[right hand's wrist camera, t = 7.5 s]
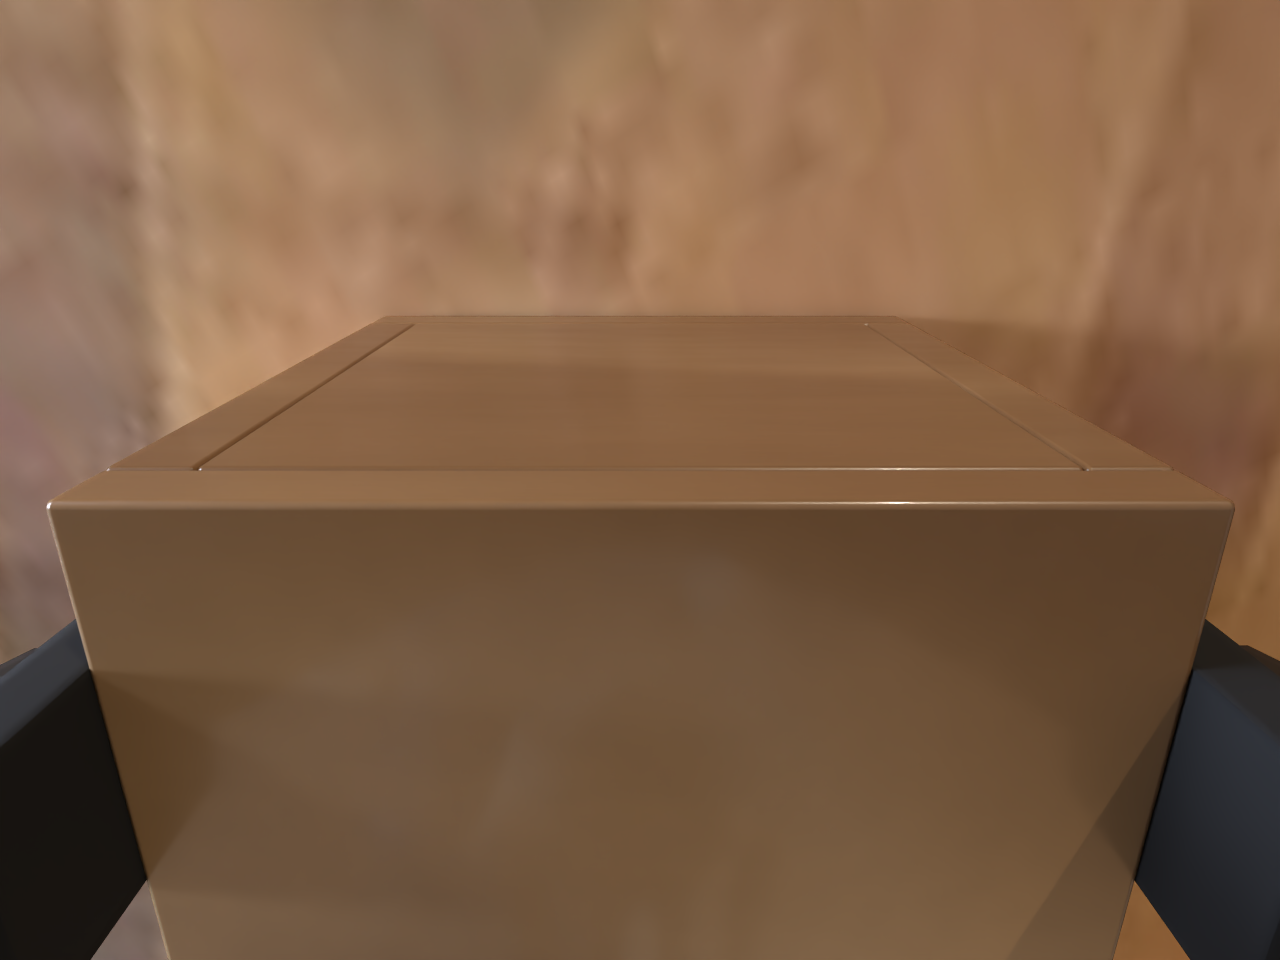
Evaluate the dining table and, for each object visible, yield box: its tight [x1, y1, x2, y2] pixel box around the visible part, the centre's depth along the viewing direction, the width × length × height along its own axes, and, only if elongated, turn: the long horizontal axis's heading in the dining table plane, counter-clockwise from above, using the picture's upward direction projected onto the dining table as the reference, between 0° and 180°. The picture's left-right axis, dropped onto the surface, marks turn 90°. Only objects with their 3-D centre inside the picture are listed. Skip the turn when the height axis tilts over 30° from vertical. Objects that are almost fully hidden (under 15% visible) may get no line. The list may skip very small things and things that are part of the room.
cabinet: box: [46, 316, 1235, 960], centre depth 16 cm, size 20×11×10 cm, turn 0°
